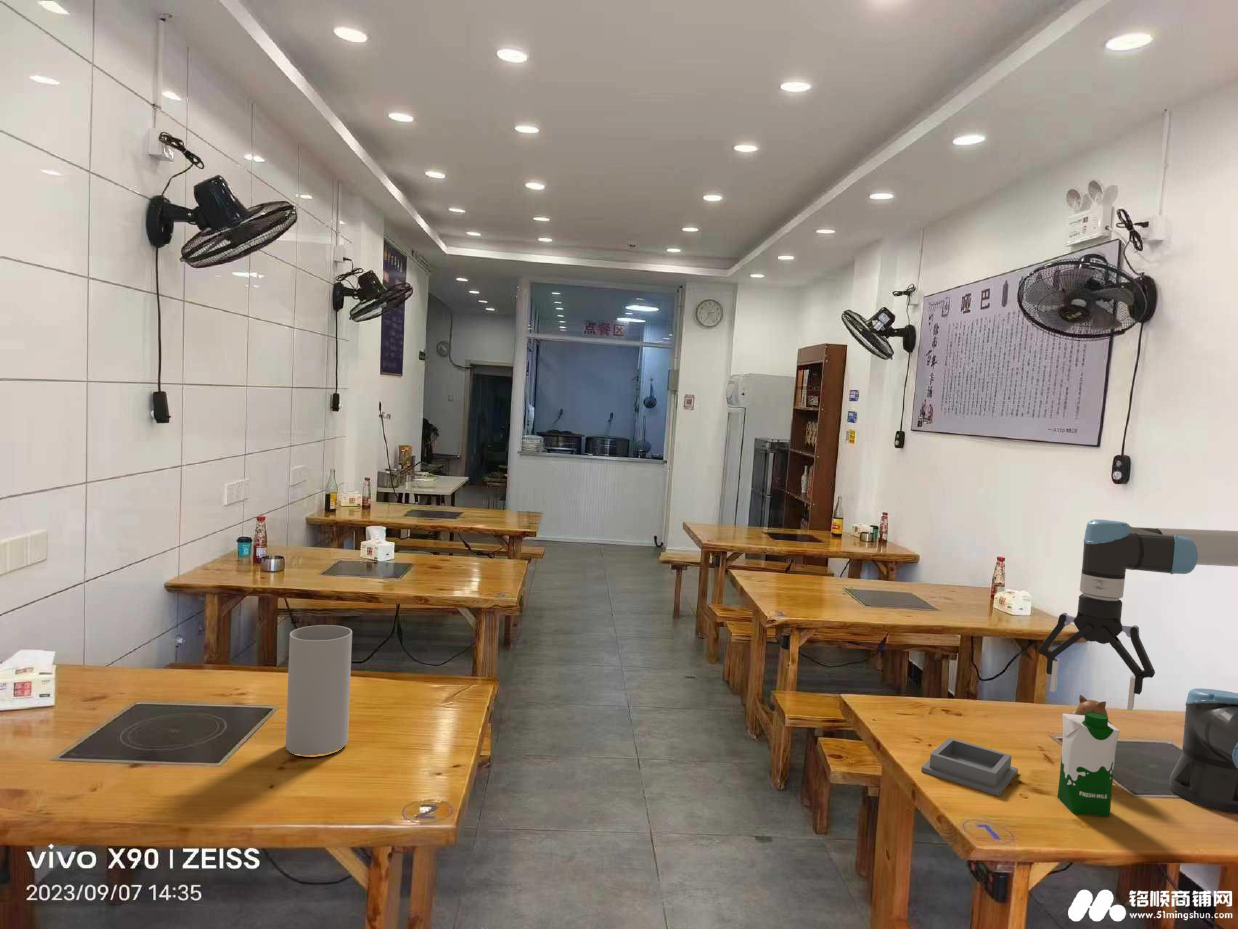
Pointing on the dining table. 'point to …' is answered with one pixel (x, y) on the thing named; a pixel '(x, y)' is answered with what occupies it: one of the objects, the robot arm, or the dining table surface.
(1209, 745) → the robot arm
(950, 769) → the dock
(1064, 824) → the dining table surface
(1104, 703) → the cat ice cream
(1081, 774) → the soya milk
